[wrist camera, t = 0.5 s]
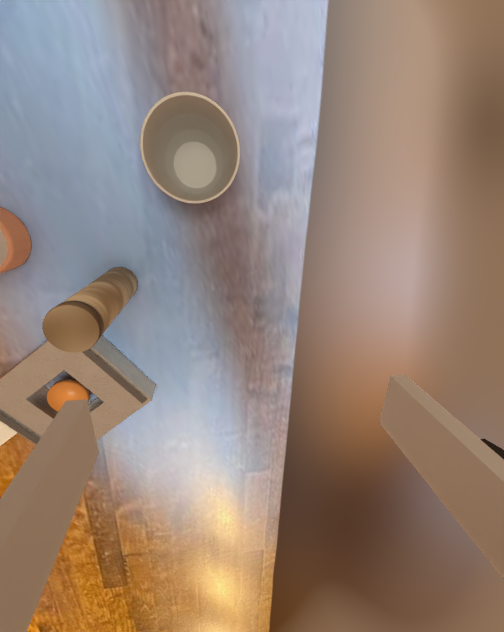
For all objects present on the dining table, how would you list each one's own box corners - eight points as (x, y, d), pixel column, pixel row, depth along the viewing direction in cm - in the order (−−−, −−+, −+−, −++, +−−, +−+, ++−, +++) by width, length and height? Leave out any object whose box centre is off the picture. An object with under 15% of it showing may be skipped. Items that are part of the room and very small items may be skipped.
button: (41, 393, 38) (38, 397, 37) (69, 372, 38) (66, 376, 37) (71, 415, 40) (68, 419, 39) (97, 395, 39) (95, 399, 39)
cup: (237, 194, 35) (249, 190, 26) (172, 211, 35) (160, 213, 25) (219, 116, 32) (226, 81, 23) (147, 133, 32) (123, 104, 22)
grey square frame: (-10, 385, 39) (-31, 403, 35) (79, 315, 37) (66, 326, 34) (74, 444, 44) (63, 465, 41) (155, 384, 43) (151, 400, 39)
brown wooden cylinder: (96, 280, 36) (29, 326, 22) (121, 259, 36) (69, 294, 22) (121, 304, 38) (72, 362, 24) (145, 285, 37) (110, 333, 23)
